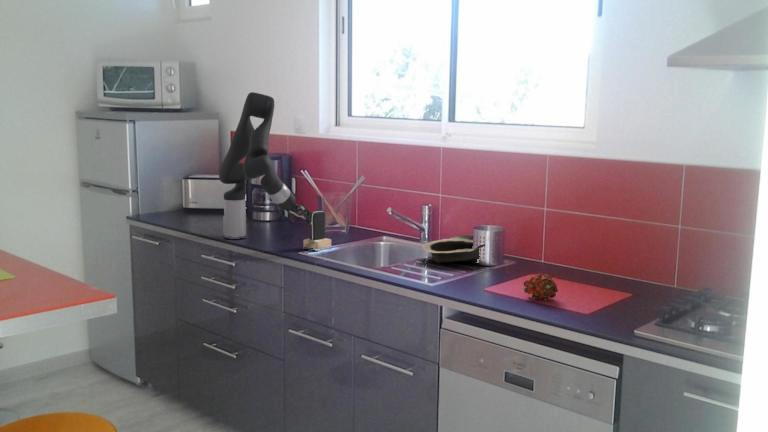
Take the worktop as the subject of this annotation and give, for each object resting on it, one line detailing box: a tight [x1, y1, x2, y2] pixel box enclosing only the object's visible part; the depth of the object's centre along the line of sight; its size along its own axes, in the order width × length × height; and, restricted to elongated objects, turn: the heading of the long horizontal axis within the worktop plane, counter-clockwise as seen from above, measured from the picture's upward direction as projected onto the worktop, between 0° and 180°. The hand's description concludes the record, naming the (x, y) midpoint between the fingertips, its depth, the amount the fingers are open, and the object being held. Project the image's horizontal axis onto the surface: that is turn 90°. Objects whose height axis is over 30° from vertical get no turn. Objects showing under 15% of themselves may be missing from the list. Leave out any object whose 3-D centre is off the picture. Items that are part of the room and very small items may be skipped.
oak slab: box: [302, 237, 332, 249], centre depth 293 cm, size 8×8×4 cm
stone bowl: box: [421, 234, 486, 265], centre depth 271 cm, size 25×25×9 cm
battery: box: [309, 210, 326, 240], centre depth 292 cm, size 7×4×11 cm, turn 141°
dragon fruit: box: [523, 273, 559, 302], centre depth 220 cm, size 8×8×12 cm
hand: (302, 221), depth 284 cm, fingers open, 8 cm apart
